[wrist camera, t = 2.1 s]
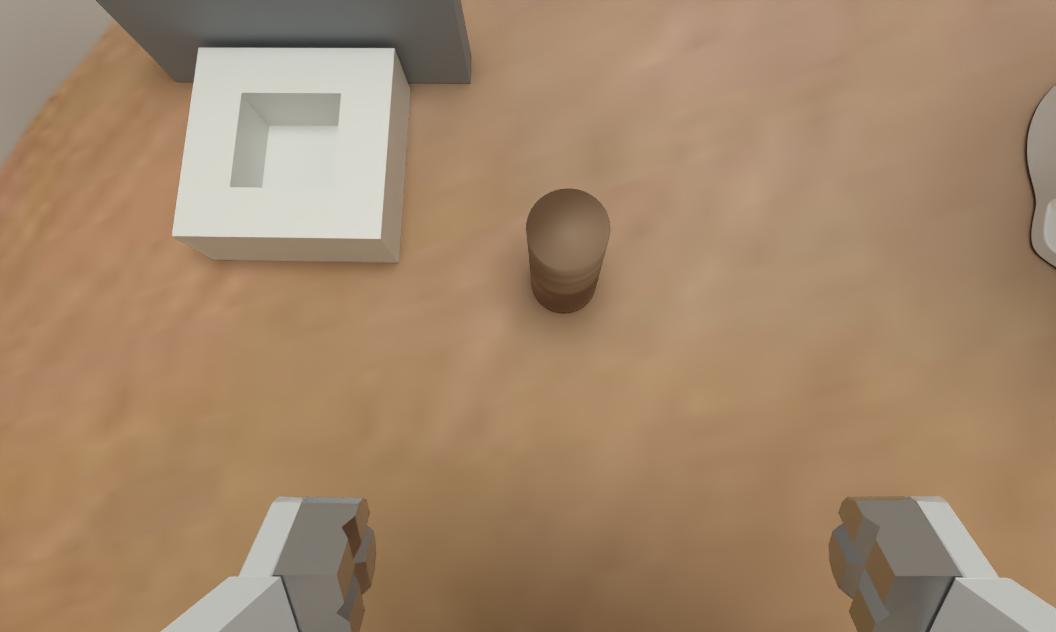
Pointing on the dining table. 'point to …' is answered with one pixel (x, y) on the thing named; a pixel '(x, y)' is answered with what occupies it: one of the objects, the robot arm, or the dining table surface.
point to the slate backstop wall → (302, 30)
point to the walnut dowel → (566, 248)
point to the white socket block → (295, 155)
